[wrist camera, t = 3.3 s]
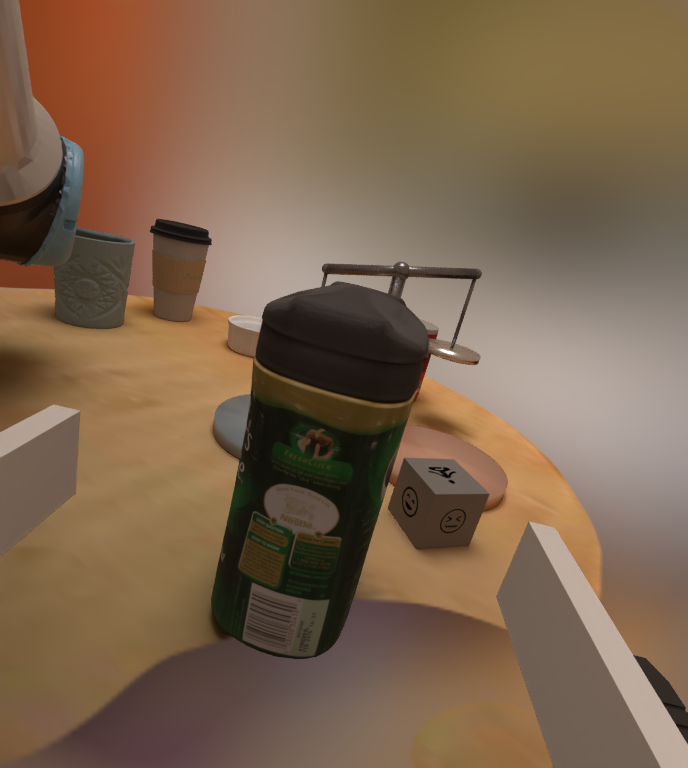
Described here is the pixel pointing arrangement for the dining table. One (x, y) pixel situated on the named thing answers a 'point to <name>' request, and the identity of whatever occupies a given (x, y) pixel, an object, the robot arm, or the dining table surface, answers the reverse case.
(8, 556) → the dining table surface
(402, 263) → the balance
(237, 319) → the ramekin
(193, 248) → the coffee cup
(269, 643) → the coffee jar
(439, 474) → the dice cube
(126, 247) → the grey-green ceramic planter
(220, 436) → the slate dish
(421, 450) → the terracotta dish
